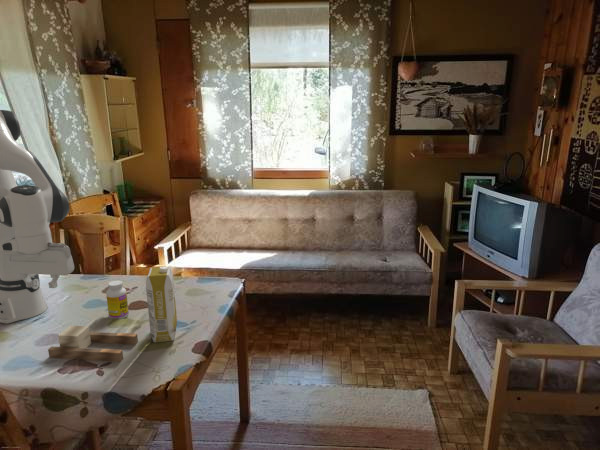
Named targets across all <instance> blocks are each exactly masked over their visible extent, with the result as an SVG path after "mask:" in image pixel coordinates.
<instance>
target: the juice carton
mask: <svg viewBox="0 0 600 450" xmlns="http://www.w3.org/2000/svg"><path fill="white" fill-rule="evenodd" d="M174 280H175V279H174V274H173V271H172V268H171V266H165V265H163V266H160V267H159V266H158V267H151V268H149V271H148V275H147V276H146V281H145V291H146V301H147V311H148V319H149V322H148V323H149V329H150V330H149V331H150V336H151V339H152V342H153V343H163V342H164V343H165V342H172V341H174V340H175V339H176V338H175V337H176V332H177V326H178V325H177V324H178V318H177V317H178V316H177V314H178V313H177V305H176V292H175V281H174Z"/></svg>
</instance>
